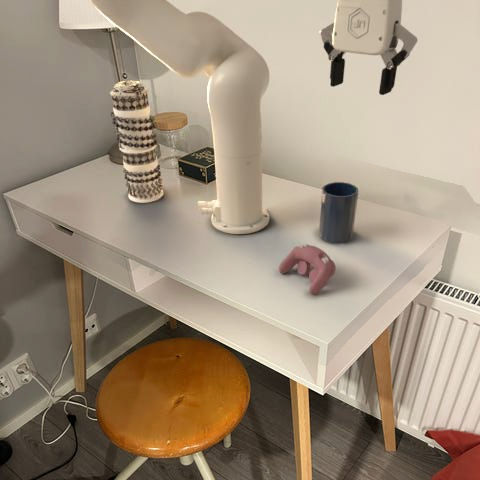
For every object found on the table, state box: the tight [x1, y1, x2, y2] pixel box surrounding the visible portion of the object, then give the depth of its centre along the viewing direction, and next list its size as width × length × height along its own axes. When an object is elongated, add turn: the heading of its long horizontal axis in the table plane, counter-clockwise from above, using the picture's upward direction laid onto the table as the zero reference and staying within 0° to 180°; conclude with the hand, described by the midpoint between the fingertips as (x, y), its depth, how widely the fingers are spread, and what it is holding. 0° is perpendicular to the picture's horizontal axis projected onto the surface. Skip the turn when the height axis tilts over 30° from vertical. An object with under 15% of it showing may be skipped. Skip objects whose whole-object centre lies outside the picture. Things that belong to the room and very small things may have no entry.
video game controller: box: [278, 243, 337, 296], centre depth 86 cm, size 10×5×7 cm, turn 35°
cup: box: [318, 181, 359, 245], centre depth 96 cm, size 7×7×10 cm
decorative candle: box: [109, 80, 164, 204], centre depth 109 cm, size 9×9×25 cm
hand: (360, 88), depth 84 cm, fingers open, 9 cm apart
